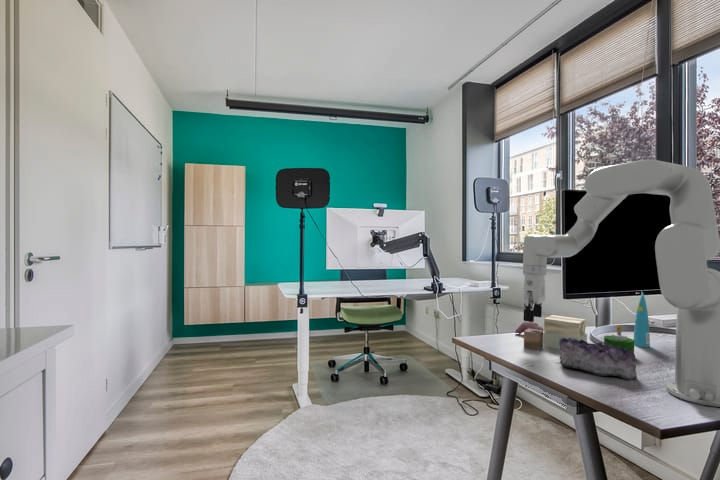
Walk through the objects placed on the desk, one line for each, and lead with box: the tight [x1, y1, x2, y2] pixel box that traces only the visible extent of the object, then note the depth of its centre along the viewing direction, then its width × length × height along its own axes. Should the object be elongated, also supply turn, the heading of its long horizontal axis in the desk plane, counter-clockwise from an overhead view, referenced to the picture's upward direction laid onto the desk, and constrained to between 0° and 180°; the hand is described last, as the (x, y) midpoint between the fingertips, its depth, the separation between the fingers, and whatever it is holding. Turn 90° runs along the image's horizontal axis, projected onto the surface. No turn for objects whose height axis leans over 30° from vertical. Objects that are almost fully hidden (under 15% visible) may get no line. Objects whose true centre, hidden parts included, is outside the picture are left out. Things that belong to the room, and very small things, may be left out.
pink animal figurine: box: [514, 321, 544, 336], centre depth 150 cm, size 10×5×7 cm, turn 22°
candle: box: [603, 324, 635, 352], centre depth 128 cm, size 8×8×10 cm
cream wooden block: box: [543, 314, 586, 338], centre depth 138 cm, size 9×11×5 cm
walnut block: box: [523, 328, 544, 352], centre depth 135 cm, size 5×5×6 cm
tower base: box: [543, 332, 588, 350], centre depth 138 cm, size 10×12×5 cm
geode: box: [558, 338, 638, 381], centre depth 113 cm, size 20×12×10 cm, turn 52°
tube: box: [633, 291, 651, 348], centre depth 139 cm, size 7×5×19 cm, turn 150°
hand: (532, 318), depth 136 cm, fingers open, 9 cm apart
